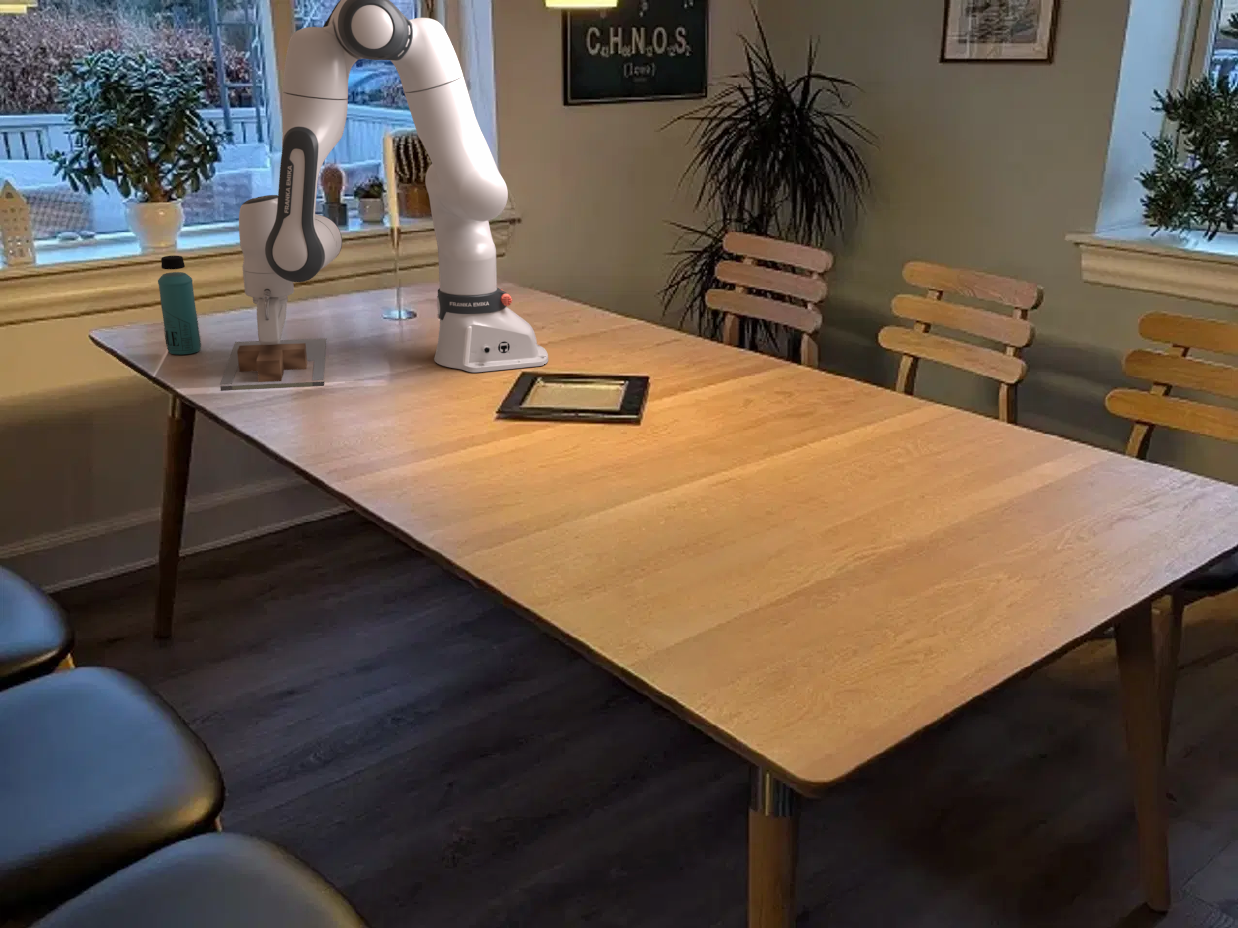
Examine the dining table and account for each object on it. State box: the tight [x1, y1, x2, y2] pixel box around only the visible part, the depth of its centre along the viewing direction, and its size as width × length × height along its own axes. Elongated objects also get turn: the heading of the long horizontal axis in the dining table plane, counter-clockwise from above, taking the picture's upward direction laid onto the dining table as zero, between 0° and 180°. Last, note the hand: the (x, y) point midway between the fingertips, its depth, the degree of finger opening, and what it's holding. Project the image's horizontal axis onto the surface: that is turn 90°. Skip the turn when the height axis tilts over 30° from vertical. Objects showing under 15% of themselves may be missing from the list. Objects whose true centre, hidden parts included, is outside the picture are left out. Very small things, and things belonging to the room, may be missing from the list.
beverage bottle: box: [157, 255, 202, 355], centre depth 215 cm, size 6×7×20 cm
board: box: [219, 338, 327, 392], centre depth 215 cm, size 18×29×1 cm, turn 13°
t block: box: [237, 343, 308, 383], centre depth 206 cm, size 12×11×4 cm
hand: (275, 355), depth 213 cm, fingers closed
